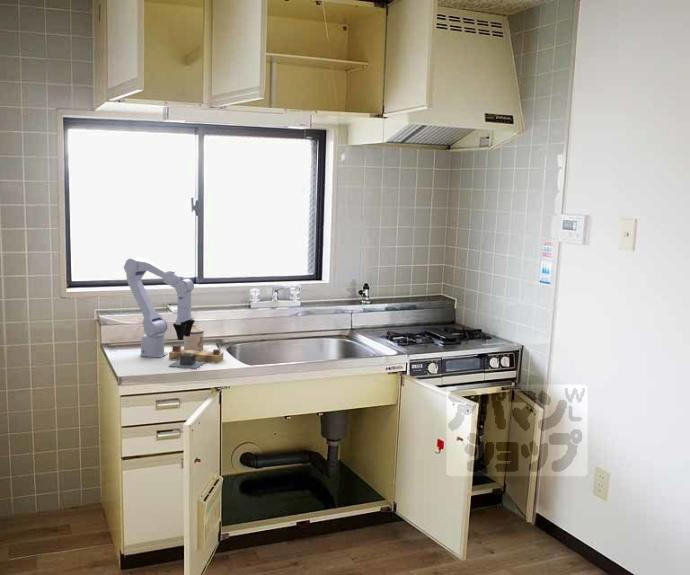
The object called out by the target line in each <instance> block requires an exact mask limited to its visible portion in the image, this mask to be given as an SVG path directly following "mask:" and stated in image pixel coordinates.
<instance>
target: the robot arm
mask: <svg viewBox="0 0 690 575" xmlns="http://www.w3.org/2000/svg"><path fill="white" fill-rule="evenodd" d="M123 269H124V271H125V274H126V275H125V276H126V282H127V284H128V287H129V288H130V290H131V293H132V295H133V297H134V299H135V301H136V303H137V306H138V308H139V309H140V312H141V313H142V316H143V319H142V323H141V324H142V326H143V331H144V333H145V334H143V335H142V337H141V339H140V357H145V356H147V358H148V357H149V358H158V357H159V358H160V359H161V358H163V357H164V355H165V356H166V355H169V353H168V352H165V335H166V332H167V330H168V327H169V326H168V323H167V321H166V320H165V319H164V318H163V316H162V314H160V313H158V312H157V311H156V309H155V307H154V305H153V303H152V301H151V299H150V296H149V295H148V294H149V293H147V290H146V288H145V285H144V284H143V282H142V278H143V276H144V275H146V272H149V273H150V274H153V275H155V276H157V277H159V278H161V279H162V282H163V283H165V284H166V285H169V286H170V287H172V288H173V289H175V292H176V296H177V303H176V304H177V308H176V309H177V310H176V311H177V312H176V314H177V315H176V319H175V322H174V323H172V327H173V328H174V330H175V333H176V337H177V340H178V341H184V336H187V337H189V336H190V333H191V329H192V326H193V324H195V319H194V318H195V317H193V314H192V291H193V290H194V289H195V288H194V287H195V283H194V281H193V280H192V279H191V278H187V277H186V278H185V277H184V276H183V275H179V274H178V273H176V271H175V270H165V269H164V268H162V267H160V266H159V265H157V264H156V263H154V262H153V261H152V260H151V259H149V258H147V257H146V256H145V257H144V256H141V257H134V258H128V259H127V260H126V261H125V263H124V265H123Z"/></svg>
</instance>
